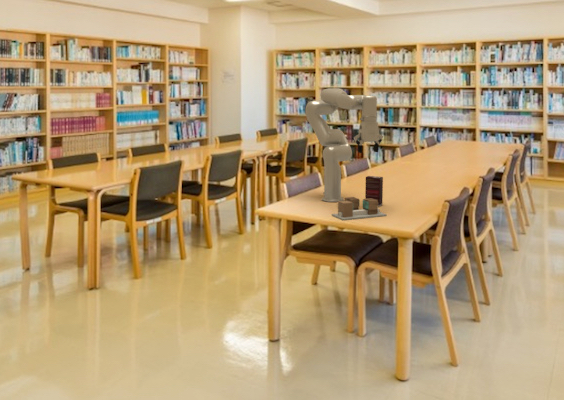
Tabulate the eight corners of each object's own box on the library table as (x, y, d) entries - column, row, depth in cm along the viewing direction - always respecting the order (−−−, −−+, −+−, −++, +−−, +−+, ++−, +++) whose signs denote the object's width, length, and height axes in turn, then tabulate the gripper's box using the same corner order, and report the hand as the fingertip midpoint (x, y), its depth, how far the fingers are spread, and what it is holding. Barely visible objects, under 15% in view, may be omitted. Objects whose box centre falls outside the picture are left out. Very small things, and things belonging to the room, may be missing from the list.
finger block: (361, 212, 300) (362, 199, 298) (371, 211, 302) (371, 198, 300) (367, 214, 294) (368, 201, 293) (377, 213, 296) (377, 200, 295)
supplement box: (382, 205, 322) (383, 176, 319) (379, 206, 318) (380, 177, 315) (368, 203, 326) (368, 175, 323) (364, 205, 322) (365, 176, 319)
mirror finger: (344, 210, 308) (344, 197, 307) (354, 209, 310) (354, 196, 309) (350, 212, 303) (350, 199, 301) (359, 211, 305) (360, 198, 304)
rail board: (331, 215, 296) (331, 200, 295) (373, 211, 306) (374, 196, 304) (343, 220, 286) (343, 204, 284) (386, 215, 295) (387, 200, 294)
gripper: (358, 120, 297) (357, 153, 301) (387, 119, 304) (386, 152, 307) (350, 119, 304) (350, 152, 308) (379, 118, 311) (378, 150, 314)
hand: (368, 152), depth 308 cm, fingers open, 9 cm apart
